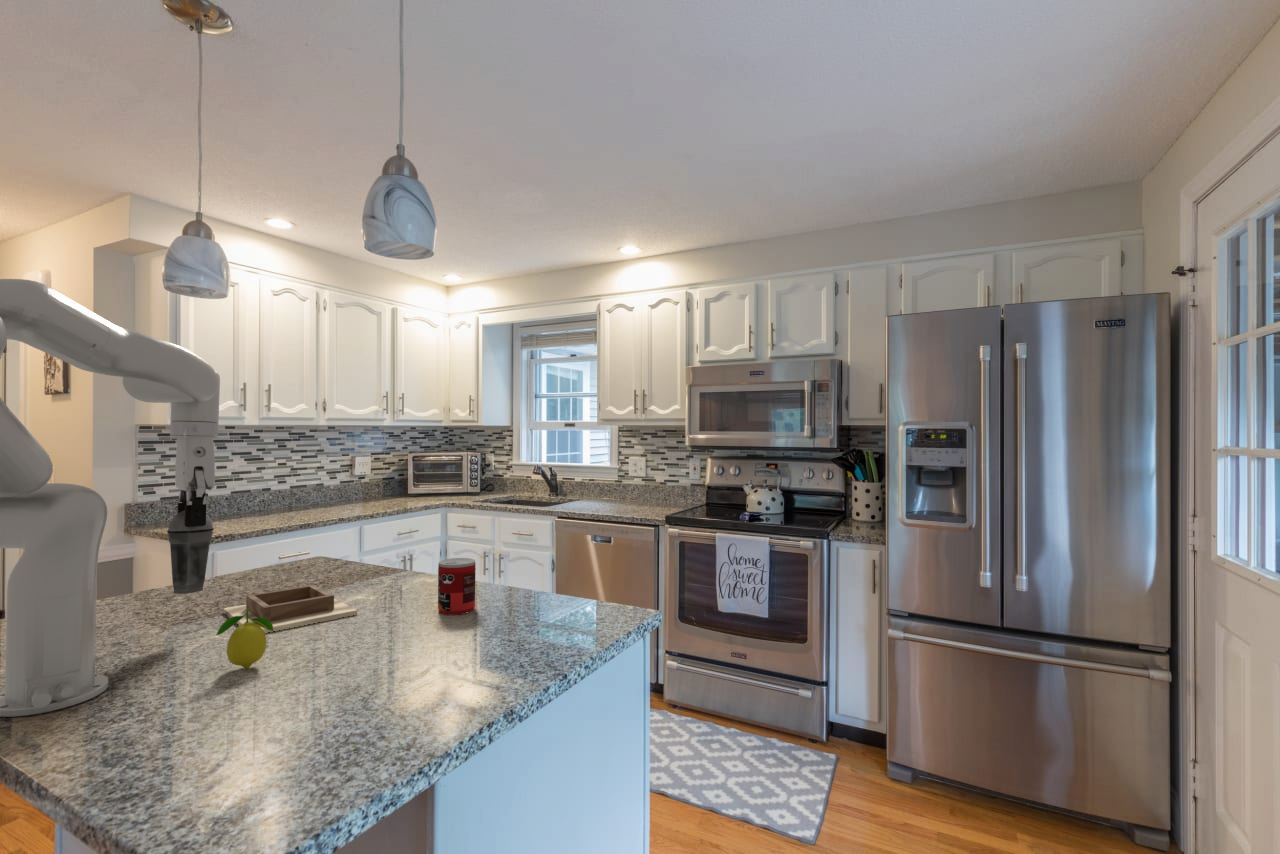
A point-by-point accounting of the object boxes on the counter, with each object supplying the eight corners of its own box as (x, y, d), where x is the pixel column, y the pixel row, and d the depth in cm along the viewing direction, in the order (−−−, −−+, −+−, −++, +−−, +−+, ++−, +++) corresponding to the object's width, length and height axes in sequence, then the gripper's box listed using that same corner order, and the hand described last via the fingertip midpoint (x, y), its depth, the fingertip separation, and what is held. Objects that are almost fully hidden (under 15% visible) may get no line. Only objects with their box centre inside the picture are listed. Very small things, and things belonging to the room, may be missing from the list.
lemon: (215, 677, 97) (216, 615, 97) (229, 664, 103) (230, 605, 103) (262, 673, 99) (263, 612, 99) (273, 660, 104) (274, 602, 104)
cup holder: (357, 614, 131) (357, 596, 131) (250, 636, 117) (251, 615, 117) (321, 595, 146) (321, 579, 146) (223, 612, 132) (223, 594, 132)
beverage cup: (221, 587, 119) (224, 485, 120) (190, 595, 112) (194, 487, 113) (186, 586, 120) (190, 485, 121) (153, 595, 112) (158, 487, 113)
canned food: (435, 607, 137) (436, 559, 137) (472, 604, 140) (472, 556, 140) (440, 617, 130) (440, 566, 130) (477, 612, 133) (478, 562, 133)
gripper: (228, 431, 114) (225, 527, 113) (207, 433, 126) (204, 519, 125) (179, 430, 108) (175, 530, 107) (162, 432, 120) (159, 522, 119)
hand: (191, 523), depth 116 cm, fingers closed on beverage cup, 6 cm apart
